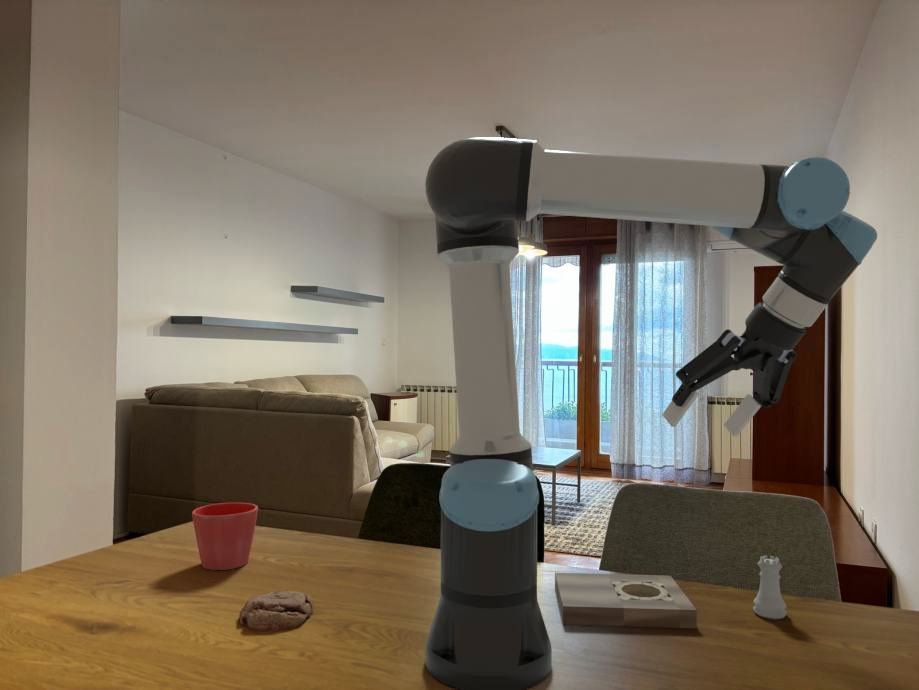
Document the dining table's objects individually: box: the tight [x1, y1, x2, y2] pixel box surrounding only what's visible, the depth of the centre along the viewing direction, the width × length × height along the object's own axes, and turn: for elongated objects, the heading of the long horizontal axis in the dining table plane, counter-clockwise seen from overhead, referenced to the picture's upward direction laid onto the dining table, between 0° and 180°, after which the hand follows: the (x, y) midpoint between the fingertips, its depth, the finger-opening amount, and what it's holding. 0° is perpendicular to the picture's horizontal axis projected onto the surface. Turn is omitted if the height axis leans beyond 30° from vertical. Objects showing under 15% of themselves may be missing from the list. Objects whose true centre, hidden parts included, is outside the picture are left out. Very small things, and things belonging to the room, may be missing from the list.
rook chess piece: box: [752, 555, 788, 620], centre depth 95 cm, size 4×4×8 cm
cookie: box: [238, 590, 314, 632], centre depth 94 cm, size 10×11×3 cm
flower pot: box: [191, 502, 259, 571], centre depth 117 cm, size 11×11×10 cm
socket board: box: [554, 572, 698, 630], centre depth 98 cm, size 14×18×2 cm
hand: (700, 426), depth 104 cm, fingers open, 13 cm apart
